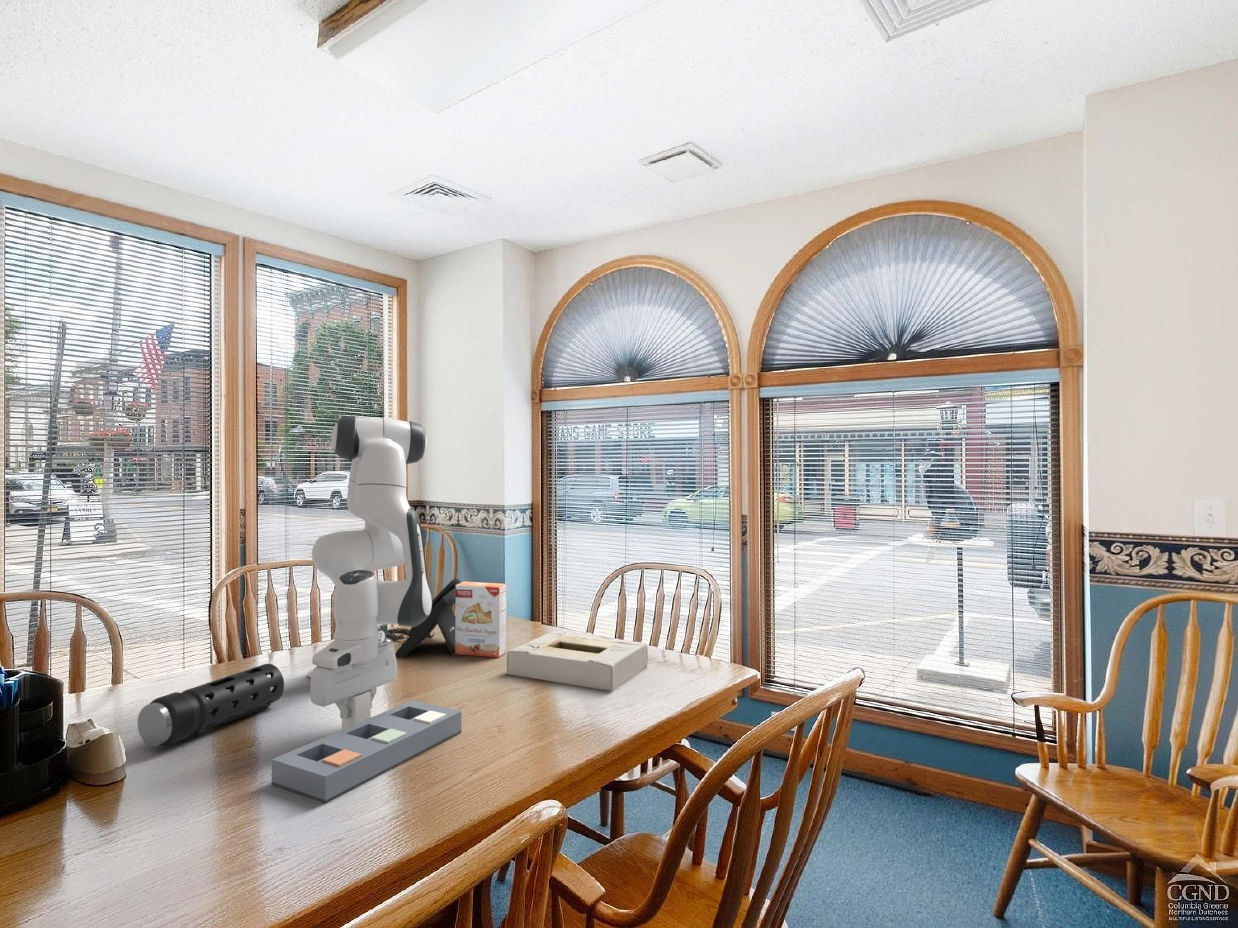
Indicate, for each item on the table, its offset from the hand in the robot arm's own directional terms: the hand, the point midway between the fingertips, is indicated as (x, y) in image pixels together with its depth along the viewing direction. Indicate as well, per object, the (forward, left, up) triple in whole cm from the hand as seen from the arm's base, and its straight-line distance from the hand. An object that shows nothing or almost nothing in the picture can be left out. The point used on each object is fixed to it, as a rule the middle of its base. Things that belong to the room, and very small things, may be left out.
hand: (356, 713), depth 146 cm
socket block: (+13, -7, -4) cm, 15 cm away
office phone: (-38, +57, -4) cm, 69 cm away
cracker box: (-14, +58, -4) cm, 60 cm away
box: (+20, +58, -4) cm, 62 cm away
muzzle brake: (-28, -13, -4) cm, 31 cm away
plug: (0, 0, -4) cm, 4 cm away
